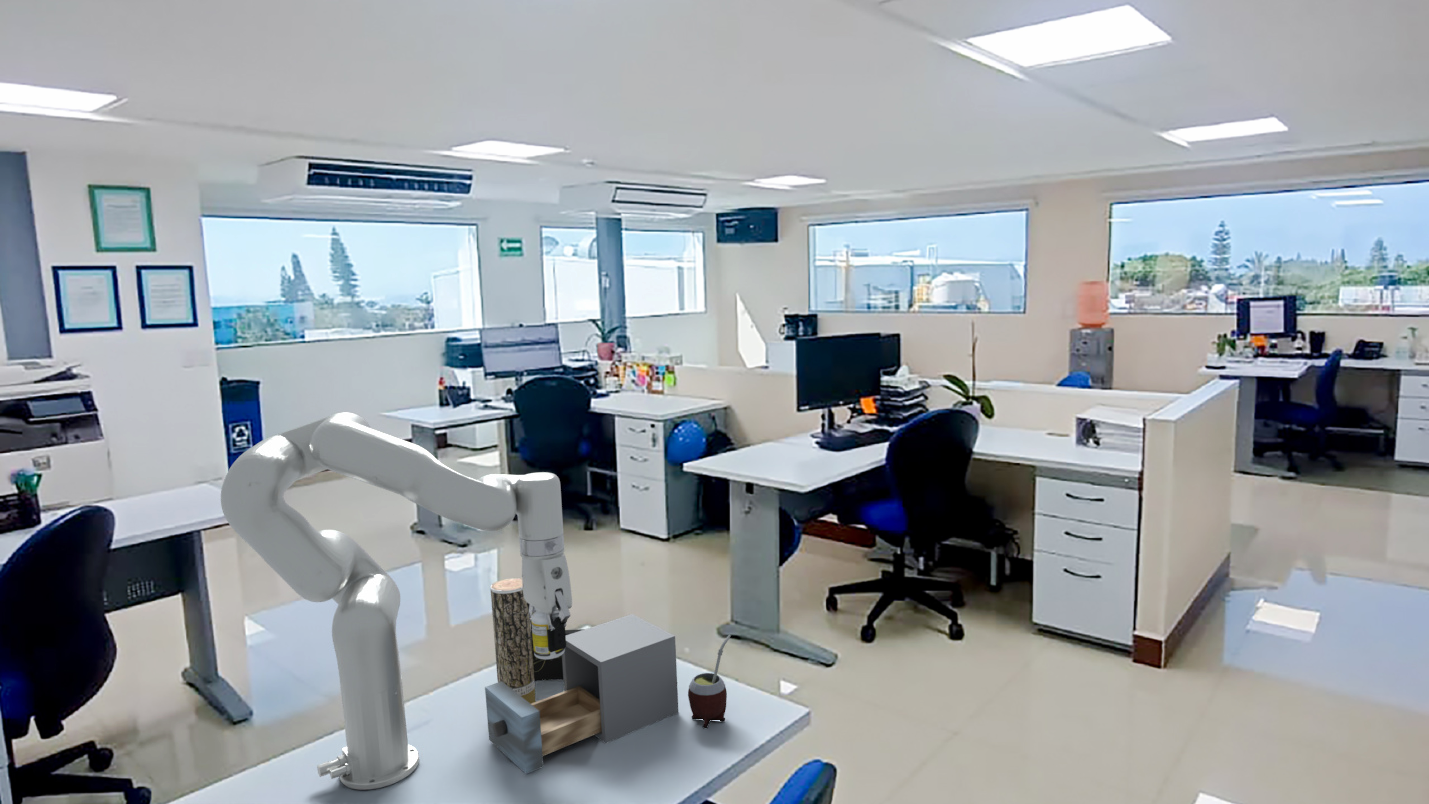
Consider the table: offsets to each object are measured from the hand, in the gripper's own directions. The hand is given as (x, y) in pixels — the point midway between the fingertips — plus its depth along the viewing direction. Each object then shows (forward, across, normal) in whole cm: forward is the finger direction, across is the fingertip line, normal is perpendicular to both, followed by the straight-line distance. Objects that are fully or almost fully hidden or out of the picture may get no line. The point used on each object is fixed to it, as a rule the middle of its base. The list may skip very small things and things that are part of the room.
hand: (548, 642), depth 150 cm
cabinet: (+18, 0, -14) cm, 23 cm away
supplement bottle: (+2, 0, 0) cm, 2 cm away
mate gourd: (+19, -13, -25) cm, 34 cm away
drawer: (+18, 0, +1) cm, 18 cm away
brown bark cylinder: (+18, +15, 0) cm, 24 cm away
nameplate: (+19, +20, -14) cm, 31 cm away
